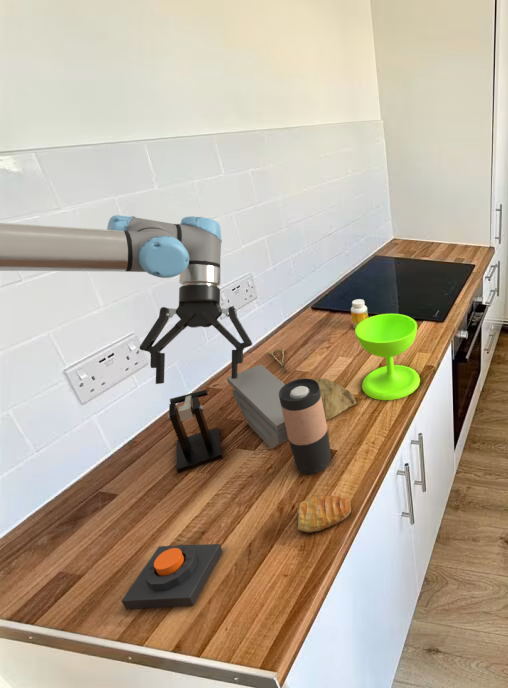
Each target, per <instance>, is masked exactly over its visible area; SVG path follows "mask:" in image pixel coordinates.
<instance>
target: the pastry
mask: <svg viewBox="0 0 508 688" xmlns="http://www.w3.org/2000/svg"><path fill="white" fill-rule="evenodd" d="M297 511H298V512H297V513H298V517H297V518H298V519H297V525H298V526H297V529H298V531H300V532H305V533H313V532H319V531H322V530H325V529H327V528H330V527H332V526H335V525H337V524H339V523H340V522H342V521H344V519H346V518H347V517H348V516H350V514H351V512H352V506H351V500H350V499H347V497H342V496H340V495H336V496H334V495H332V494H329V495H325V494H324V495H323V494H321V495H319V496H318V497H317V496H310V497H309V498H308V499H307V500H304V501H301V502H300V503H299V506H298V510H297Z"/></svg>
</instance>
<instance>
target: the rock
mask: <svg viewBox="0 0 508 688" xmlns="http://www.w3.org/2000/svg"><path fill="white" fill-rule="evenodd" d="M315 381H317V382H318V384H319V387H320V393H321V398H322V403H323V408H324V414H325V419H326V421H327V420H331V419H333V418H334V417H336V416H338V415H340V414H341V413H342V412H344V411H346V410H347V409H349V408H351V407H353V406H355V405H356V404H357V401H356V398H355V397H354V395H353V394H352V392H351V391H350V390H349V389H347V388H345V387H344V386H342V385H341V384H339V383H337V382H335V381H332V380H329V379H326V378H321V377H318V378H315Z"/></svg>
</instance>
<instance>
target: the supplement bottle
mask: <svg viewBox="0 0 508 688" xmlns="http://www.w3.org/2000/svg"><path fill="white" fill-rule="evenodd" d="M365 304H366V303H365V300H364V299H363V298H362V299H361V298H358V299H357V298H356V299H354V300H352V302H351V308H350V316H351V322H352V328H353V329H354V330H355V329H356V327H357V325H358V324H359V323H360V322H361V321H363V320H365V319H367V318H369V312H368V307H367V305H365Z"/></svg>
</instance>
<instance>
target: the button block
mask: <svg viewBox="0 0 508 688" xmlns="http://www.w3.org/2000/svg"><path fill="white" fill-rule="evenodd" d="M171 548H178V549H180V550H181V552H182V554H183V556H184V563H183V565H182V566H181V567H180V568H179V569H178V570H177V571H176V572H174V573H173V574H170V575H168V576H160V575H158V573H157V571H156V569H155V567H154V562H155V560H156V558H157V557H158V556H159V555H160V554H161V553H163V552H164V551H166V550H168V549H171ZM223 552H224V551H223V548H222V545H221V544H220V543H210V544H209V543H208V544H207V543H206V544H177V545H161V546H160V545H159V546H157V549H156V550H155V551H154V553H153V554H152V556H151V557H150V559H149V560H148V561H147V563H146V564H145V566H144V567H143V568H142V570H141V571H140V573H139V574H138V576H137V577H136V579H135V580H134V581H133V582H132V584H131V586H130V587H129V589H128V590H127V592H126V594H125V595H124V596H123V598H122V599H121V603H122V605H123V607H124V608H125V610H136V609H155V608H174V607H175V608H176V607H193V606H195V603H196V602H197V600H198V598H199V597H200V595H201V592H202V591H203V589H204V587H205V585H206V584H207V582H208V580H209V578H210V576H211V574H212V572H213V571H214V569H215V567H216V565H217V563H218V561H219V560H220V558H221V556H222V554H223Z"/></svg>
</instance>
